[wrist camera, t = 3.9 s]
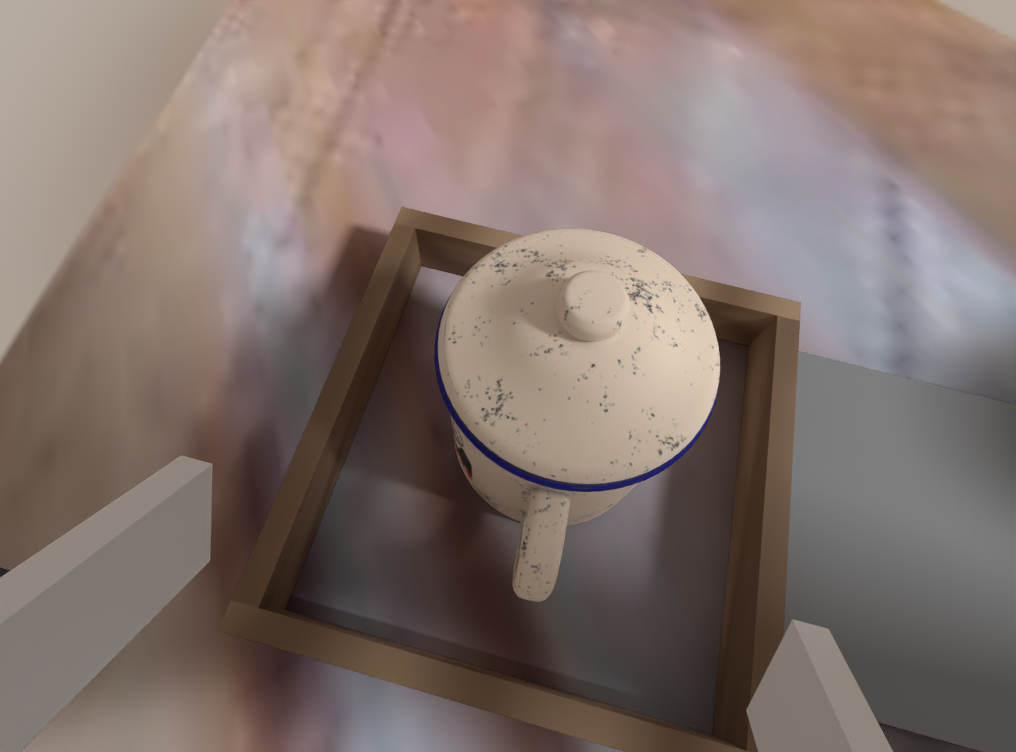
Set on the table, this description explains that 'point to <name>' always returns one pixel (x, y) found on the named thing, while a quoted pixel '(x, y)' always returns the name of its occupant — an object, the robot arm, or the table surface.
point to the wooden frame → (645, 740)
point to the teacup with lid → (571, 381)
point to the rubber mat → (909, 546)
